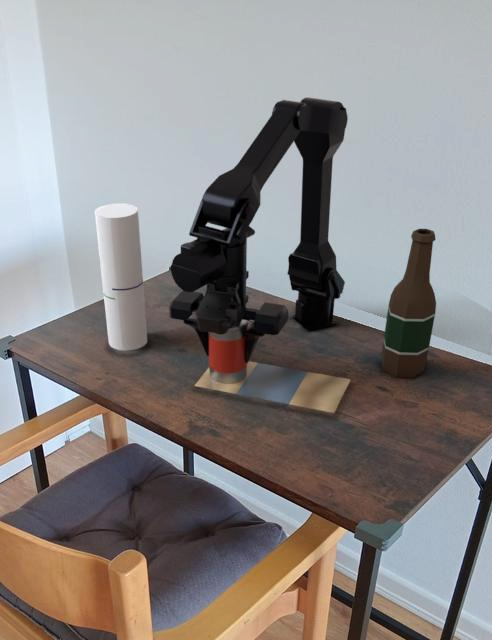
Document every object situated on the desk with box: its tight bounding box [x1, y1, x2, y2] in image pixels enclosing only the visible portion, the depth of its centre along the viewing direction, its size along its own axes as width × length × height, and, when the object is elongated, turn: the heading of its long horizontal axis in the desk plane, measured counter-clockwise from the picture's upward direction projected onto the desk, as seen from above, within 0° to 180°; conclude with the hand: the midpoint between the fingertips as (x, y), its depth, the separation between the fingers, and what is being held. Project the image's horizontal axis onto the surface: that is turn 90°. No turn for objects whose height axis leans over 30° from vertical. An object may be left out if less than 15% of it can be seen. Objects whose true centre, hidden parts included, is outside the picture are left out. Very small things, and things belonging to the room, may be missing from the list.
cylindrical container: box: [94, 202, 148, 352], centre depth 132 cm, size 7×7×25 cm
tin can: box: [208, 320, 249, 384], centre depth 126 cm, size 6×6×10 cm
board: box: [194, 360, 352, 414], centre depth 126 cm, size 24×11×1 cm, turn 68°
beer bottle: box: [380, 228, 437, 379], centre depth 124 cm, size 8×8×24 cm
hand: (228, 358), depth 127 cm, fingers open, 7 cm apart
